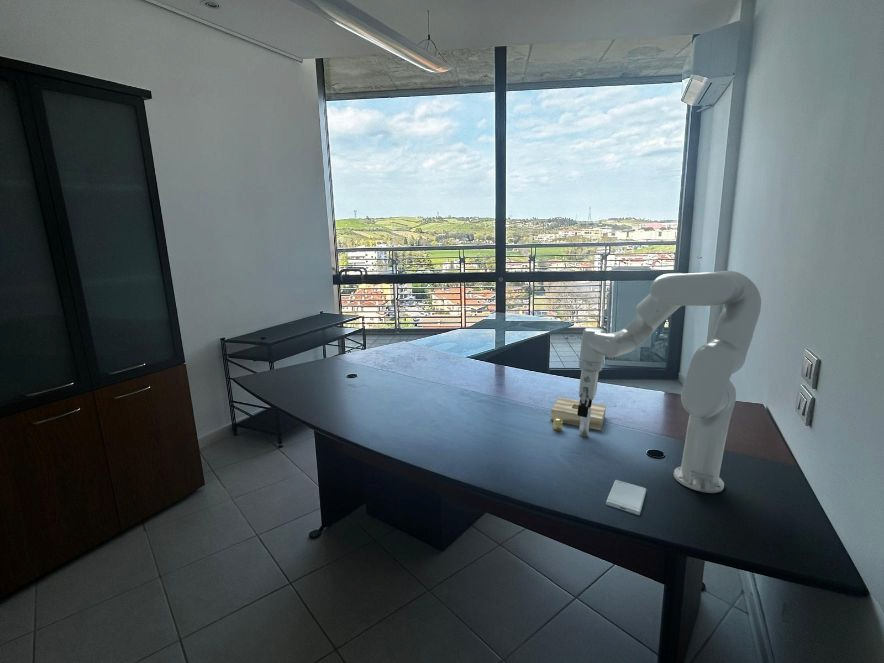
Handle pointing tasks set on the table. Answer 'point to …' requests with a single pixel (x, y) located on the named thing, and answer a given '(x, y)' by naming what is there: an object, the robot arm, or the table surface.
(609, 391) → the table surface
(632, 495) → the hard drive
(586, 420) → the tall steel pin
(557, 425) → the short brass pin
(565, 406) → the block
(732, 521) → the table surface
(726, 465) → the table surface
